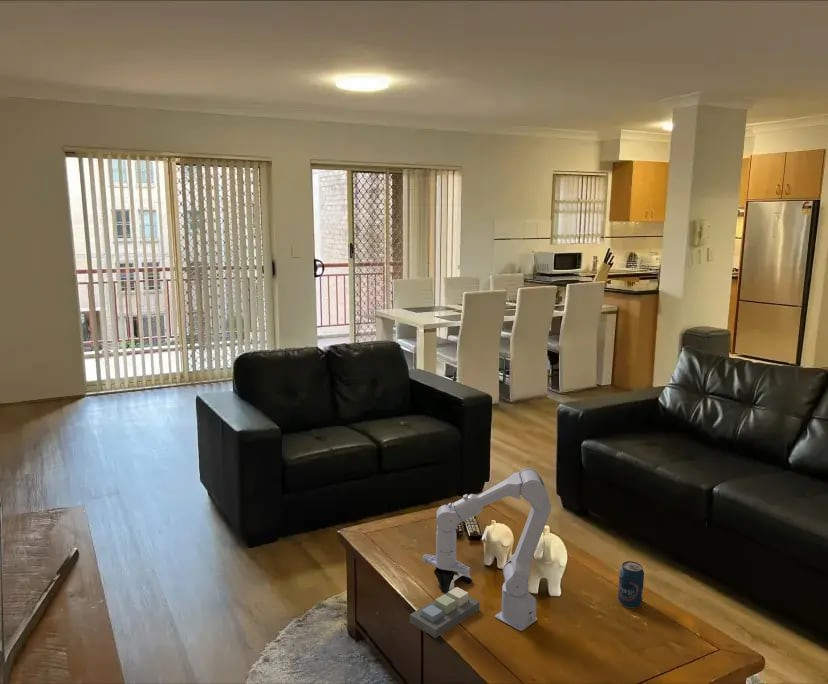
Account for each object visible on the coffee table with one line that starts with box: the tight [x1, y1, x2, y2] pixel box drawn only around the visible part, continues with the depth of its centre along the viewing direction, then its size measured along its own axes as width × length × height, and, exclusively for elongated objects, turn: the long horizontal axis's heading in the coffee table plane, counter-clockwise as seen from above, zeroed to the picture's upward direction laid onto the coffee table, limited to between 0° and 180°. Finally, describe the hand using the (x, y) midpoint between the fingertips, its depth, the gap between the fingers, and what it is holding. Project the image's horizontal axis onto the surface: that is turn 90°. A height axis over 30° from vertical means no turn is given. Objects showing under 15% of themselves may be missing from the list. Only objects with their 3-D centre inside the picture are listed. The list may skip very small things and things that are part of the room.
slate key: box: [421, 605, 443, 623], centre depth 190 cm, size 4×4×4 cm
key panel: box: [409, 593, 481, 639], centre depth 194 cm, size 10×19×3 cm, turn 135°
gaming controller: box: [437, 572, 473, 593], centre depth 211 cm, size 11×6×7 cm
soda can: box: [617, 560, 645, 609], centre depth 201 cm, size 7×7×12 cm
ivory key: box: [448, 586, 469, 607], centre depth 198 cm, size 4×4×4 cm
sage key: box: [434, 593, 456, 615], centre depth 194 cm, size 4×4×4 cm
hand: (445, 591), depth 193 cm, fingers closed
